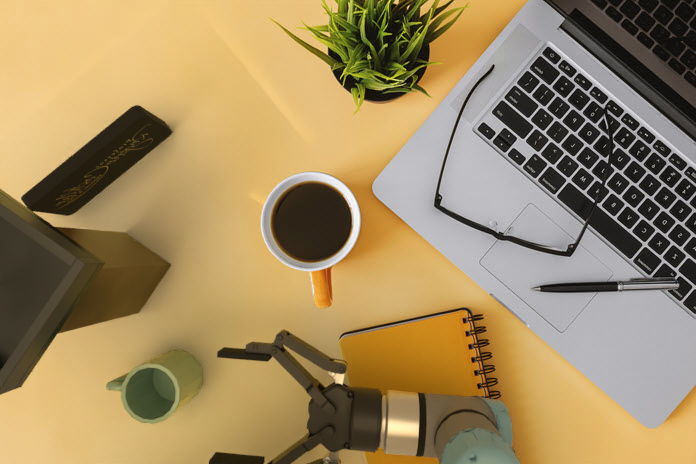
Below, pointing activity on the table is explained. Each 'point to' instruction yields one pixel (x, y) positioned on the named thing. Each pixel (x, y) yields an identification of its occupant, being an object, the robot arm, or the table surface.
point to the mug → (159, 386)
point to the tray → (35, 287)
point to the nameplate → (98, 163)
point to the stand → (115, 277)
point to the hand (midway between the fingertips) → (216, 405)
